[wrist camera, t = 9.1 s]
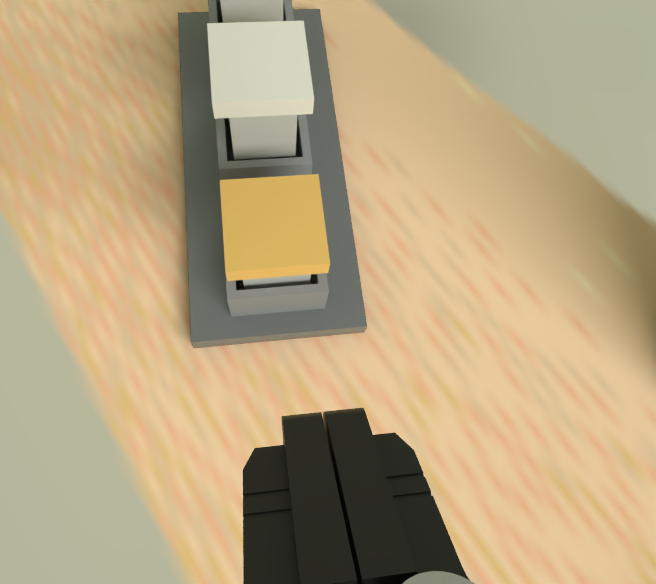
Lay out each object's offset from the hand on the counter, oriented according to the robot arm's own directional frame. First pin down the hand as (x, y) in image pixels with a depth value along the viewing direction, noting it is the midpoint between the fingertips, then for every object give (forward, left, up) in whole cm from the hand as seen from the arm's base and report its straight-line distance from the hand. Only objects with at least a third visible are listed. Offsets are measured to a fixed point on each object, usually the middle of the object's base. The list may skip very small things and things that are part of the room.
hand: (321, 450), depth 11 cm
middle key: (-6, -20, -18) cm, 27 cm away
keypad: (-6, -20, -22) cm, 30 cm away
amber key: (-4, -12, -20) cm, 24 cm away
